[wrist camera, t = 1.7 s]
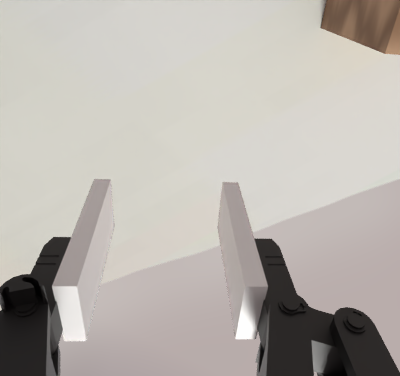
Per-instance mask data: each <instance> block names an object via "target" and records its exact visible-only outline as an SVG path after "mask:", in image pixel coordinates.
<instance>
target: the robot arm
mask: <svg viewBox="0 0 400 376" xmlns="http://www.w3.org/2000/svg"><path fill="white" fill-rule="evenodd" d="M113 230H114V214H113V201H112V189H111V180H108V179H94V181H93V184H92V186H91V189H90V191H89V194H88V196H87V199H86V201H85V204H84V206H83V209H82V211H81V214H80V217H79V219H78V222H77V224H76V227H75V229H74V232H73V234H72V237H53V238H52V239H51V240H50V241H49V242H48V243H46V244H45V245H44V247H43V249H42V251H41V253H40V255H39V257H38V259H37V261H36V265H35V266H34V268H33V270H32V272H31V274H25V275H20V276H16V277H13V278H12V279H10V280H8V281H6V282H5V283H4V284H3V285H2V286H1V287H0V305H1V308H2V310H1V311H0V376H60V350H59V346H58V344H59V341H60V337H61V334H62V333H63V338H64V341H86V340H87V336H88V332H89V328H90V324H91V320H92V316H93V312H94V308H95V303H96V299H97V295H98V291H99V287H100V283H101V279H102V275H103V271H104V267H105V263H106V258H107V254H108V250H109V246H110V242H111V238H112V234H113ZM218 233H219V239H220V246H221V251H222V258H223V264H224V270H225V277H226V283H227V289H228V296H229V302H230V309H231V314H232V320H233V327H234V334H235V339H256V336H257V332H259V336H260V341H261V342H260V347H259V351H258V354H257V359H256V362H257V363H258V365H257V376H314V372H317V375H318V376H400V372H399V370H398V368H397V367H396V365H395V363H394V361H393V359H392V357H391V355H390V353H389V351H388V349H387V348H386V346H385V344H384V342H383V340H382V338H381V336H380V334H379V332H378V330H377V328H376V326H375V325H374V323H373V322H372V321H371V319H370V318H369V317H368V316H367V315H365V314H364V313H363V312H361V311H359V310H356V309H354V308H348V307H346V308H340V309H339V310H337V311H336V312H335V315H332V314H329V313H325V312H322V311H318V310H315V309H313V308H311V307H309V306H308V304H307V303H306V302H305V300H304V299H303V298H301V297H300V296H298V295H297V293H296V291H295V288H294V285H293V282H292V280H291V277H290V274H289V272H288V269H287V267H286V264H285V261H284V258H283V255H282V253H281V250H280V248H279V246H278V245H277V244H276V243H275V242H274V241H273V240H272V239H254V236H253V233H252V229H251V226H250V222H249V219H248V215H247V212H246V208H245V205H244V201H243V198H242V195H241V191H240V188H239V184H238V183H229V182H223V183H222V192H221V201H220V210H219V219H218Z"/></svg>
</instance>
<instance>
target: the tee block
mask: <svg viewBox="0 0 400 376" xmlns="http://www.w3.org/2000/svg"><path fill="white" fill-rule="evenodd" d="M321 28H322V29H325V30H327V31H330V32H332V33H335V34H337V35H340V36H342V37H345V38H347V39H350V40H352V41H355V42H357V43H360V44H362V45H365V46H367V47H370V48H372V49H374V50H377V51H379V52H382V53H384V54H398V55H400V0H327V2H326V6H325V11H324V15H323V20H322V24H321Z"/></svg>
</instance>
